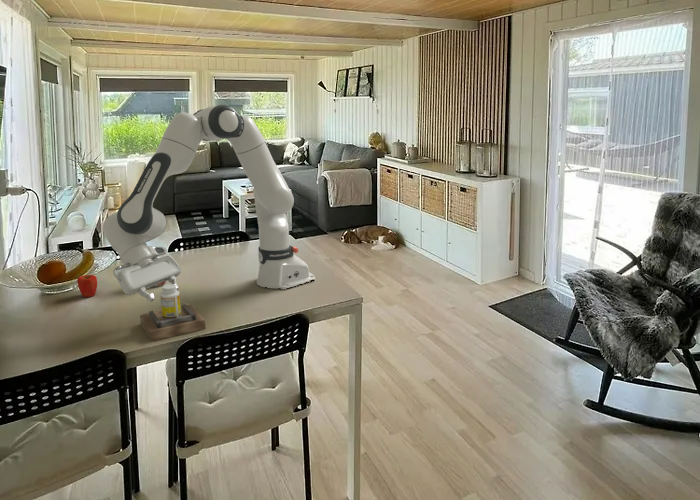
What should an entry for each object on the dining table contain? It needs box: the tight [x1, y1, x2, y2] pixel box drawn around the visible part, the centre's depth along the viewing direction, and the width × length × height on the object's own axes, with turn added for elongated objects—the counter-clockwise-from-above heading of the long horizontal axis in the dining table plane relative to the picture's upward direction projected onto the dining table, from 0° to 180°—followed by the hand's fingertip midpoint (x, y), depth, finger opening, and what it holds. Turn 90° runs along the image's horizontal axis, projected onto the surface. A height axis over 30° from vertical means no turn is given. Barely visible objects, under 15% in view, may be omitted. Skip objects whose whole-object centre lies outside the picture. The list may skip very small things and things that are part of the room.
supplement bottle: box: [159, 283, 182, 320], centre depth 160 cm, size 6×6×10 cm
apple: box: [76, 274, 98, 298], centre depth 184 cm, size 6×6×8 cm
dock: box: [139, 303, 206, 342], centre depth 162 cm, size 16×14×4 cm
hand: (164, 295), depth 160 cm, fingers open, 8 cm apart
